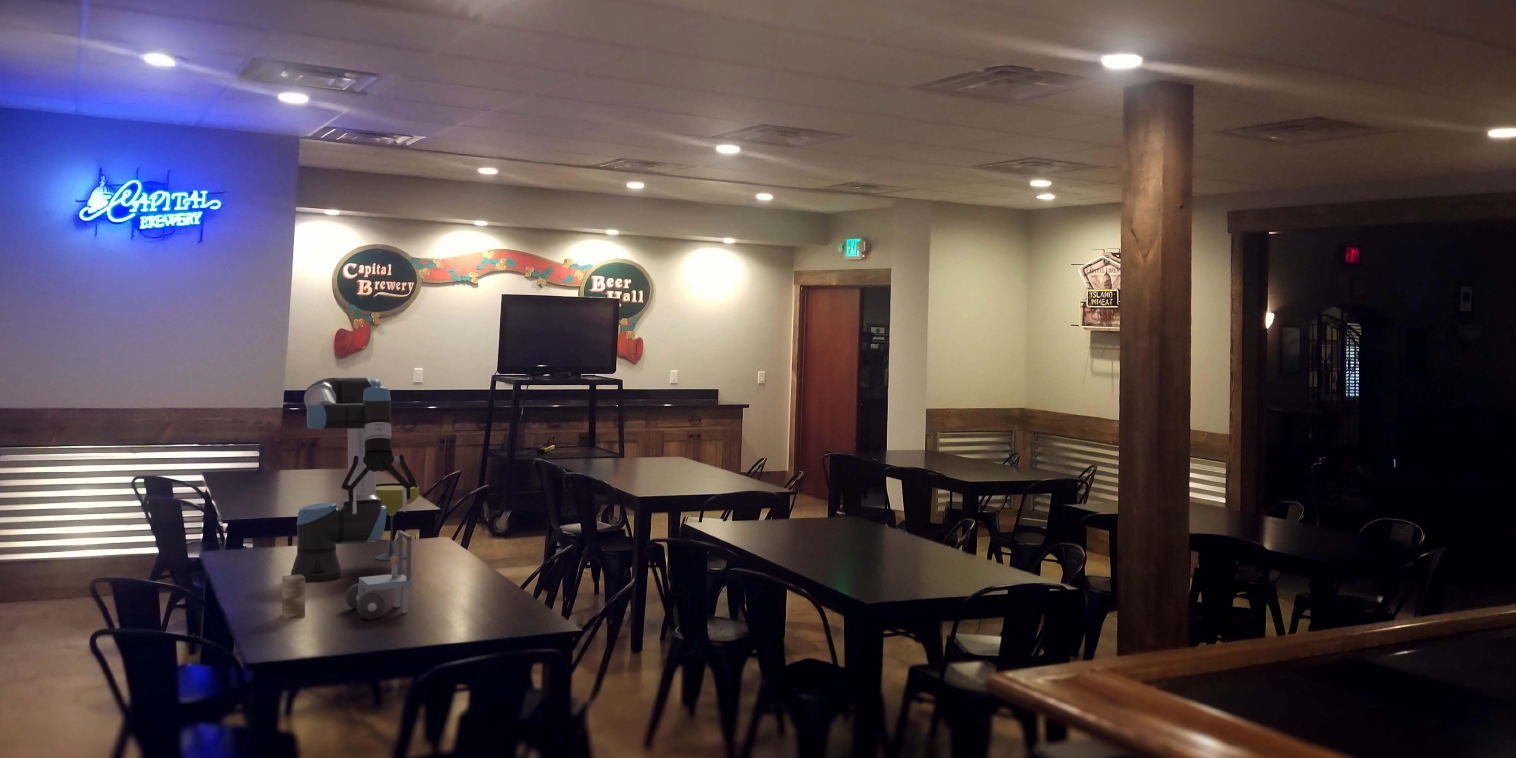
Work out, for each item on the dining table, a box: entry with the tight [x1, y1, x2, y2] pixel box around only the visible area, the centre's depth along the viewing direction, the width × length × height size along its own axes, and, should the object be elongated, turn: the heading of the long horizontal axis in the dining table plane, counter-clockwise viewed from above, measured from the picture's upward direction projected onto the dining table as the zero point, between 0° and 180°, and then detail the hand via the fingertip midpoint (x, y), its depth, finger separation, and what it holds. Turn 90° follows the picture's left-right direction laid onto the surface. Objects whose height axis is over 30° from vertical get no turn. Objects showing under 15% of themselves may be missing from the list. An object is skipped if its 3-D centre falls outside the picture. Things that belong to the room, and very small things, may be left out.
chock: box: [281, 574, 306, 620], centre depth 299 cm, size 5×5×11 cm
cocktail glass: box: [374, 482, 420, 562], centre depth 379 cm, size 18×18×25 cm
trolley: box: [344, 530, 413, 621], centre depth 306 cm, size 15×15×22 cm
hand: (380, 512), depth 308 cm, fingers open, 13 cm apart
